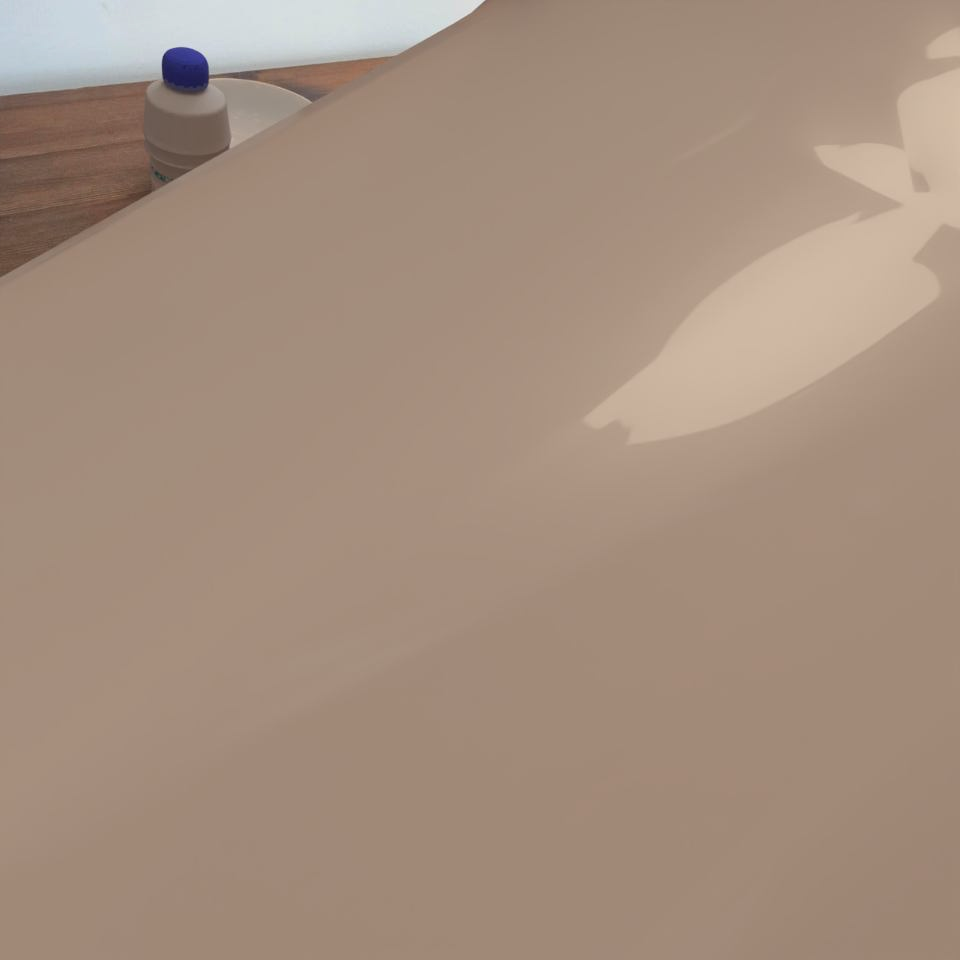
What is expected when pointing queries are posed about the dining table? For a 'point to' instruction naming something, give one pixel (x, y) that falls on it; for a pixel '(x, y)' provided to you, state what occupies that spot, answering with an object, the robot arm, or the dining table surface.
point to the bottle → (183, 117)
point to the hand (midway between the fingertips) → (377, 769)
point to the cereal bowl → (255, 106)
